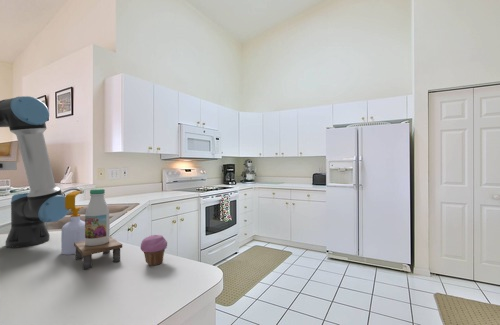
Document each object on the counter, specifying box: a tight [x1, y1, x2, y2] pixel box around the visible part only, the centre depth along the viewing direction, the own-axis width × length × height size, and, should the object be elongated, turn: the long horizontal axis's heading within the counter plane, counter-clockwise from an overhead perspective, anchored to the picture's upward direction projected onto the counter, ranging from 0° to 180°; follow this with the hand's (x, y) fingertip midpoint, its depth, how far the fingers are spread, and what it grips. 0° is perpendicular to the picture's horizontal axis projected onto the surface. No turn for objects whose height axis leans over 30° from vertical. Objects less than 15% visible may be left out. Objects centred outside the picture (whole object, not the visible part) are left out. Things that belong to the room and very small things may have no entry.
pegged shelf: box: [74, 236, 123, 271], centre depth 91 cm, size 16×12×6 cm
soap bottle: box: [60, 190, 85, 256], centre depth 101 cm, size 9×9×25 cm
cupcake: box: [140, 234, 168, 267], centre depth 86 cm, size 9×9×10 cm
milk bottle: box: [84, 188, 111, 246], centre depth 91 cm, size 8×8×20 cm
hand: (16, 166), depth 88 cm, fingers open, 13 cm apart
